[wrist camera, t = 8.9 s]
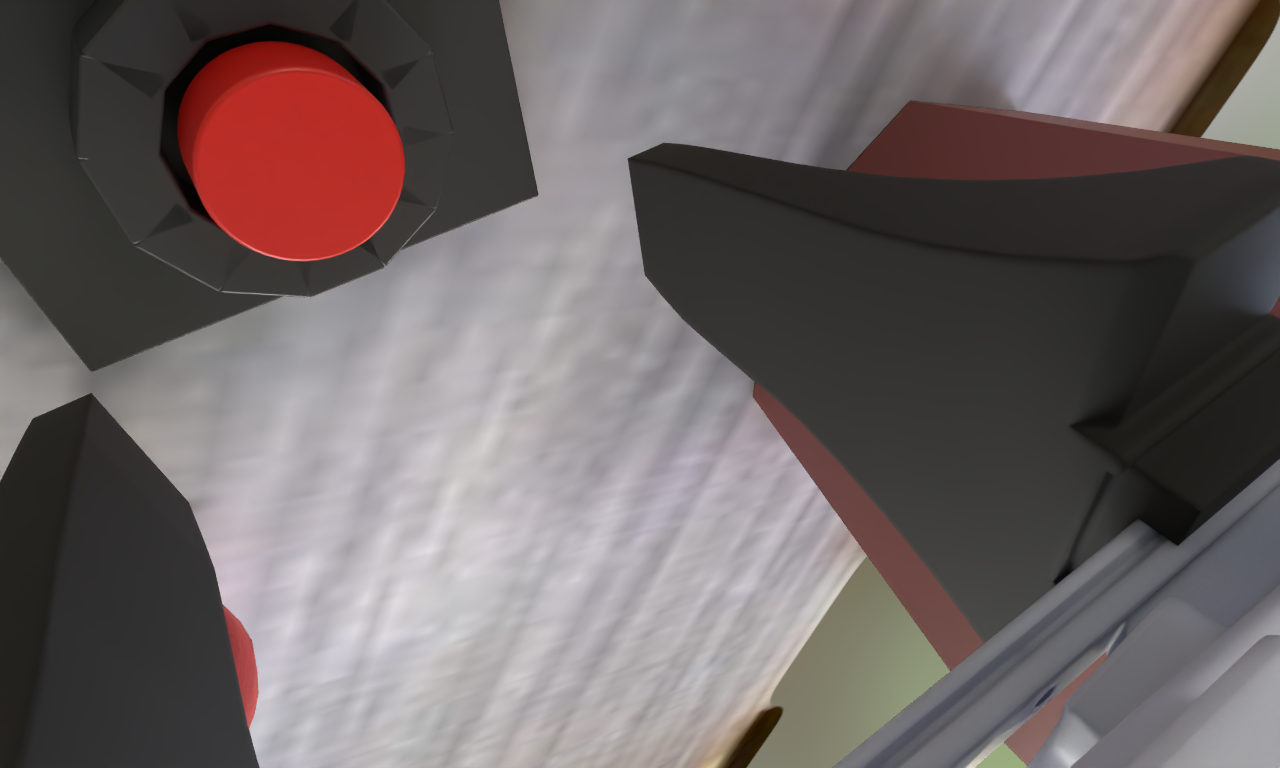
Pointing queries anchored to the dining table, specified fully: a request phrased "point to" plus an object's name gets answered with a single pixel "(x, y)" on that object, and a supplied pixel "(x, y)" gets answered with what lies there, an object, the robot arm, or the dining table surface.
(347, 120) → the button
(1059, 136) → the bucket
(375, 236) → the button housing
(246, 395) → the dining table surface
